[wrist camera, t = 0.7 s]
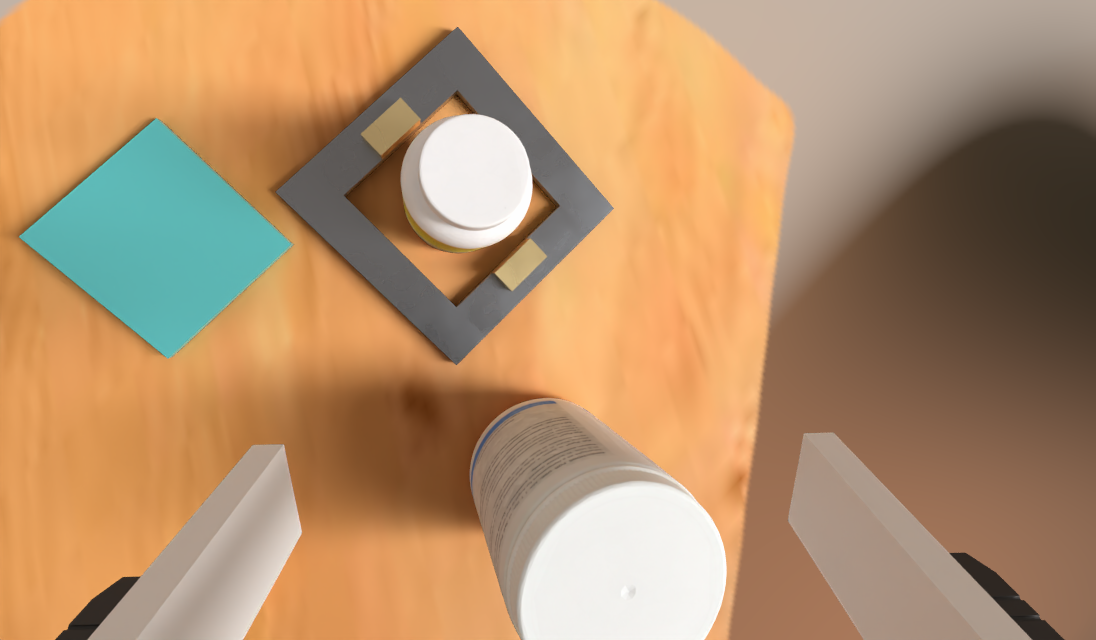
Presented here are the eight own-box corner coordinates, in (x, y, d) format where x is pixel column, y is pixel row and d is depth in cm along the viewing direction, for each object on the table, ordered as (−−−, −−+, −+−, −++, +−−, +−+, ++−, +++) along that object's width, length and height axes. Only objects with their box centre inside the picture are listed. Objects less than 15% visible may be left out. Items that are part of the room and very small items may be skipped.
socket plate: (455, 362, 34) (458, 368, 32) (278, 193, 31) (269, 189, 29) (609, 209, 35) (620, 206, 33) (456, 32, 32) (459, 17, 30)
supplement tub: (455, 526, 35) (484, 704, 21) (483, 383, 35) (533, 466, 20) (594, 538, 38) (705, 705, 23) (623, 405, 37) (754, 492, 23)
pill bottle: (510, 249, 34) (554, 241, 23) (409, 257, 33) (408, 254, 22) (501, 148, 33) (542, 92, 23) (397, 152, 32) (389, 95, 21)
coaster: (172, 356, 30) (167, 358, 30) (26, 237, 28) (18, 236, 27) (293, 244, 31) (291, 244, 31) (161, 120, 29) (156, 117, 28)
